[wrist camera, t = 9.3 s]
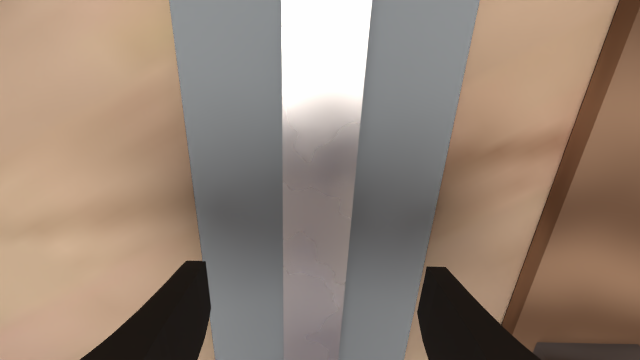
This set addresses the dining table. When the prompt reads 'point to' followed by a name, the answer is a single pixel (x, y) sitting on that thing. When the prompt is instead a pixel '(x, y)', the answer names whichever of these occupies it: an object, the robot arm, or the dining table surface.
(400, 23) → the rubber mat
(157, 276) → the dining table surface
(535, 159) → the dining table surface
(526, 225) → the dining table surface
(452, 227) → the dining table surface
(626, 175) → the wooden stand
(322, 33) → the steel rail
